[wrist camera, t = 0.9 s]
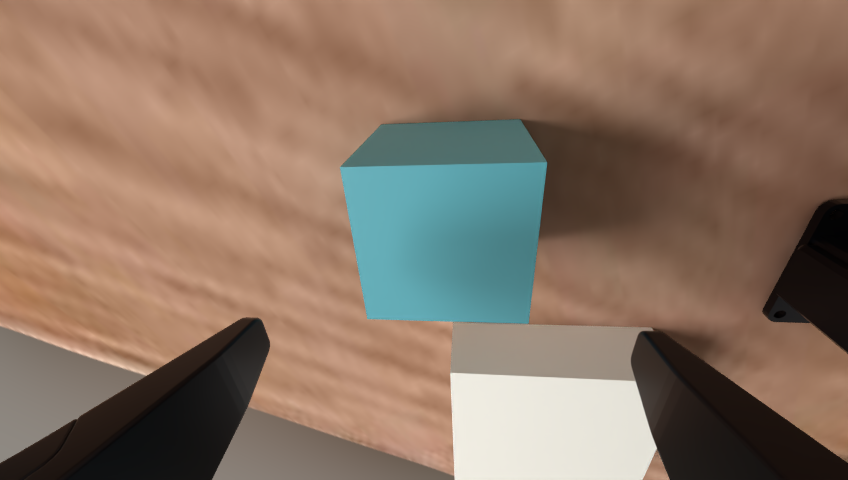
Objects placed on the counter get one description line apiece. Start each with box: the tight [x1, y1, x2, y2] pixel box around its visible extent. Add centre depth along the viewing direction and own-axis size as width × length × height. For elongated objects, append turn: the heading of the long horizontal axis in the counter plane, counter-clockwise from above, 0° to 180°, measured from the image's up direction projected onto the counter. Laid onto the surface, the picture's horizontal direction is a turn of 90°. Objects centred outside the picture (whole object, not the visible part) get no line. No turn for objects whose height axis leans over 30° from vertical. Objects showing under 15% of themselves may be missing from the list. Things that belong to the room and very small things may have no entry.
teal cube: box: [340, 119, 547, 324], centre depth 14 cm, size 6×6×6 cm
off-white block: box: [450, 322, 657, 480], centre depth 22 cm, size 11×11×4 cm
